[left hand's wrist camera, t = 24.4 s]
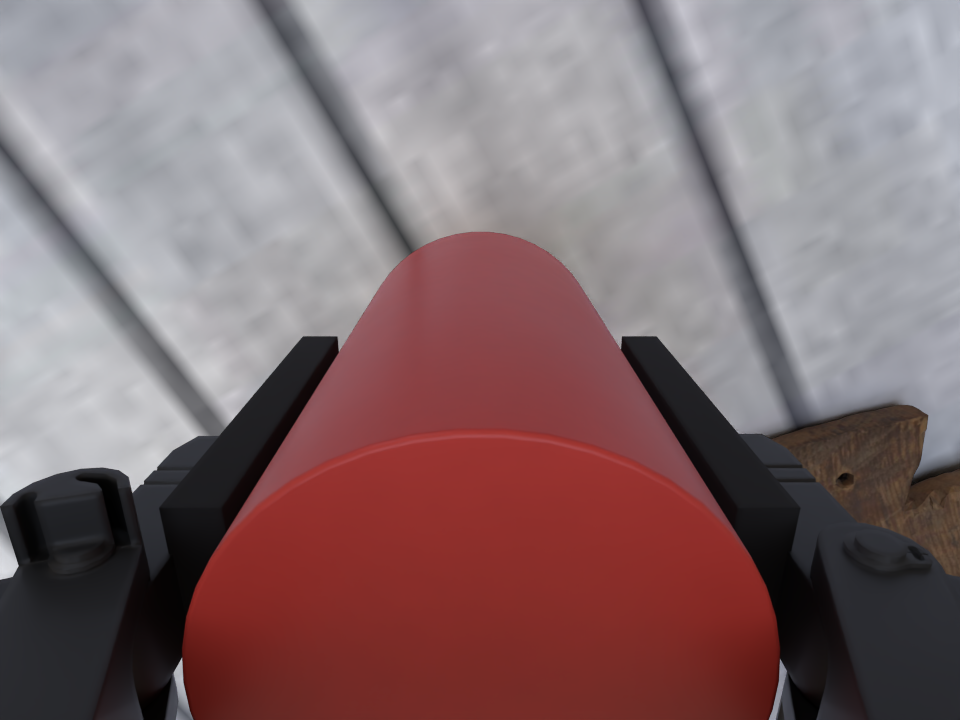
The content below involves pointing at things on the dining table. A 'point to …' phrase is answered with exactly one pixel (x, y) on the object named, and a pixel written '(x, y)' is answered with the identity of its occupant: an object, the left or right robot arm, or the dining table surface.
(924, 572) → the left robot arm
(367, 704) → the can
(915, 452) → the dark wooden board
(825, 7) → the dining table surface
